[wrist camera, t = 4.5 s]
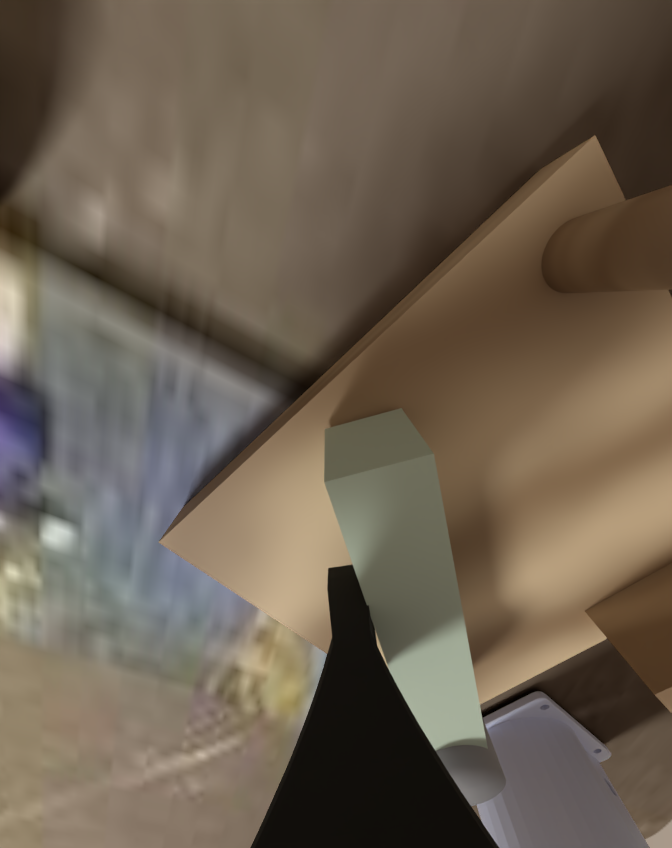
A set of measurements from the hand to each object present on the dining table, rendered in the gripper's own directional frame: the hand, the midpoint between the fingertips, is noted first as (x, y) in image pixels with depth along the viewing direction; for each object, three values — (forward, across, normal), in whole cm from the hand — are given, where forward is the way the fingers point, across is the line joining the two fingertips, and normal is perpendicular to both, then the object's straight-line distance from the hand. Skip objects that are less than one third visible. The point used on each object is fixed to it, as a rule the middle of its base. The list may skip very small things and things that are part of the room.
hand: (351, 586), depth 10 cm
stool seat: (+3, -5, 0) cm, 6 cm away
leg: (+1, -2, +2) cm, 3 cm away
